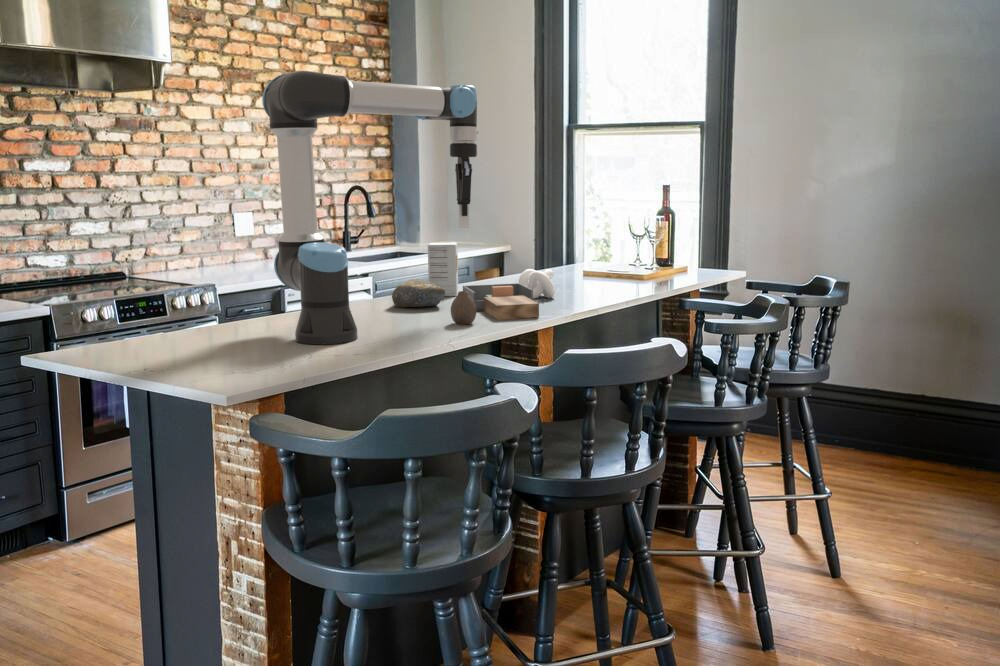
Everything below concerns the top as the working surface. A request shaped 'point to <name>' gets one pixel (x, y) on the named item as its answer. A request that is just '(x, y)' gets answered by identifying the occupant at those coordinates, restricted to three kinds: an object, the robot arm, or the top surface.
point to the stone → (417, 294)
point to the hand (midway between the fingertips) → (463, 227)
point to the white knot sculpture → (538, 282)
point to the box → (482, 290)
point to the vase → (463, 309)
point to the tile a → (501, 291)
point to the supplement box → (444, 266)
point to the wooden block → (511, 307)
